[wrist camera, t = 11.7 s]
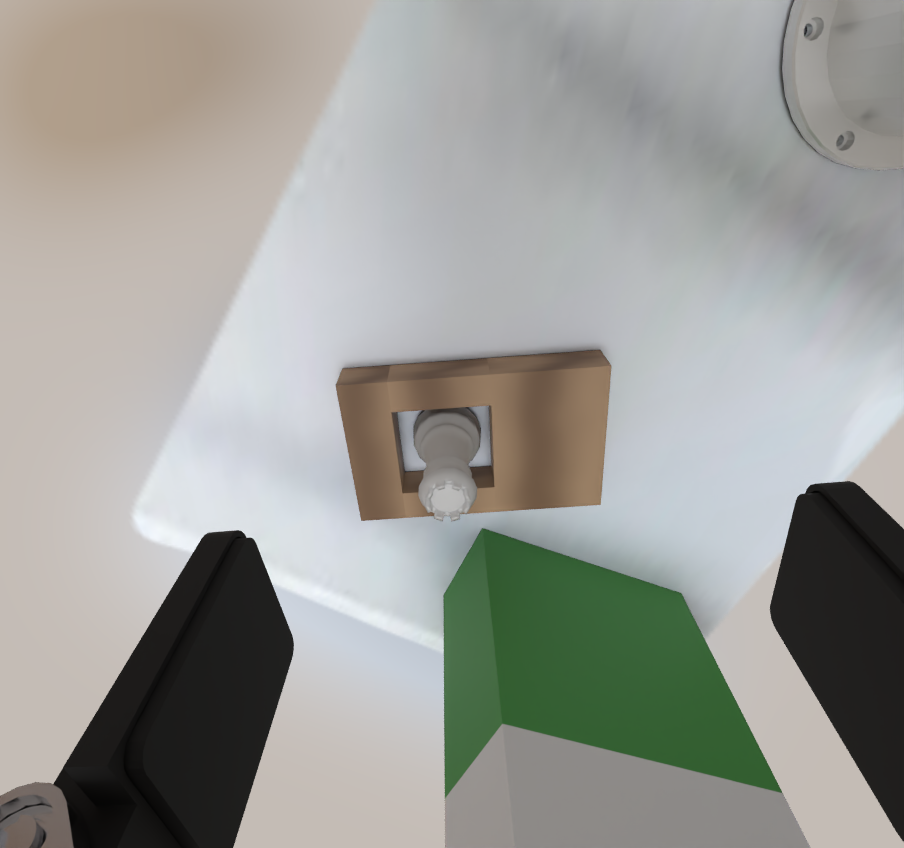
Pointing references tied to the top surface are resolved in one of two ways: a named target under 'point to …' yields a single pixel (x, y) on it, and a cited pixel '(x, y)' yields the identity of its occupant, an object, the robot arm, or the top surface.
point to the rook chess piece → (447, 460)
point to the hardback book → (591, 715)
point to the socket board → (511, 429)
